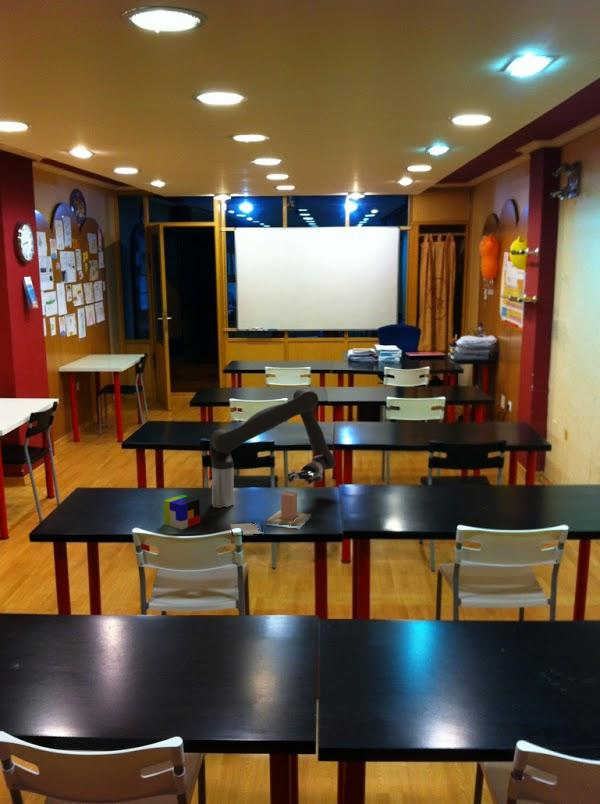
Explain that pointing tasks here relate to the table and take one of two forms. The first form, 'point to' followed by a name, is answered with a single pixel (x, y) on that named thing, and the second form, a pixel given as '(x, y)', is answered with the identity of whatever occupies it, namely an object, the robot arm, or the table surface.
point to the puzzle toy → (181, 511)
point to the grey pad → (247, 528)
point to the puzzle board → (277, 520)
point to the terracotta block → (289, 506)
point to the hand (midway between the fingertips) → (299, 480)
